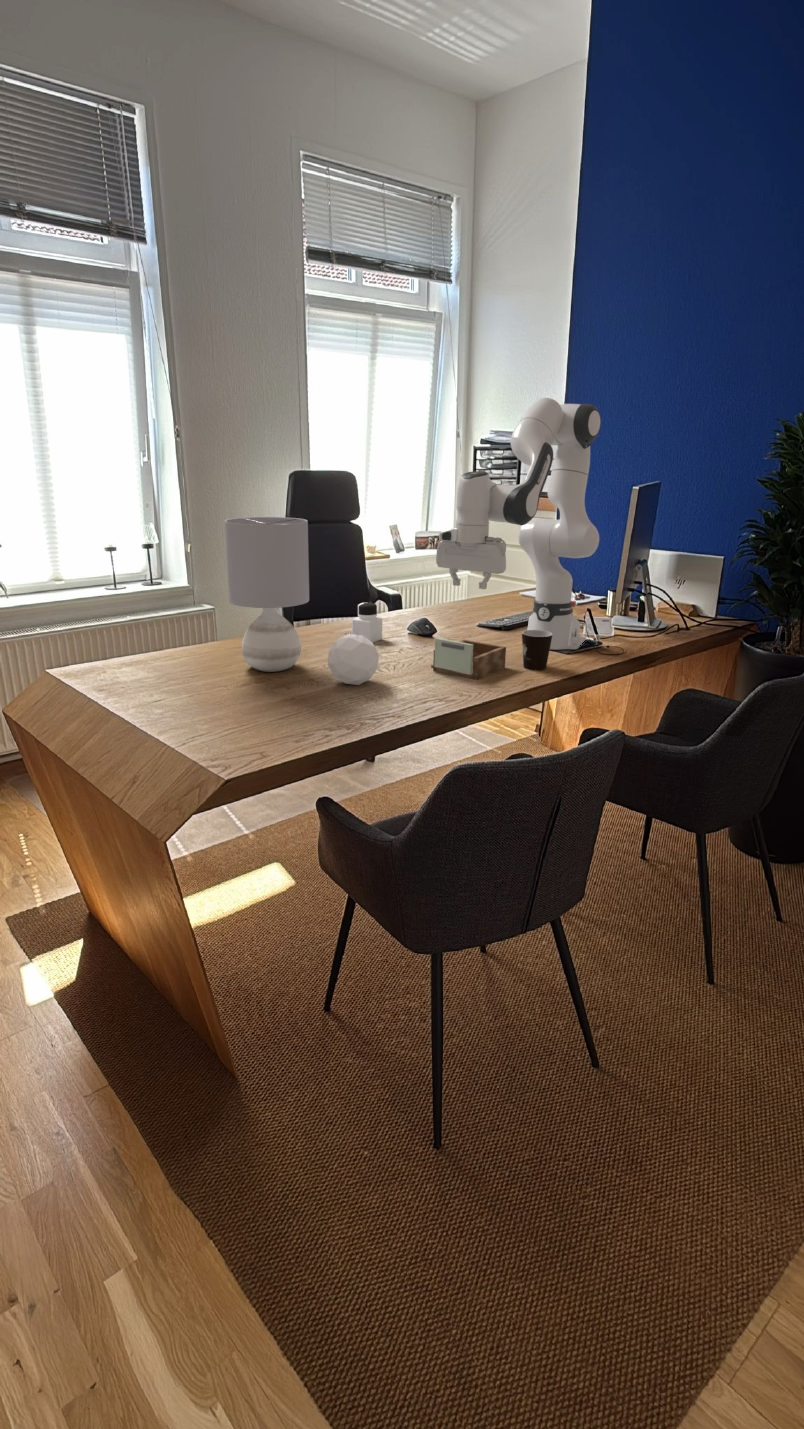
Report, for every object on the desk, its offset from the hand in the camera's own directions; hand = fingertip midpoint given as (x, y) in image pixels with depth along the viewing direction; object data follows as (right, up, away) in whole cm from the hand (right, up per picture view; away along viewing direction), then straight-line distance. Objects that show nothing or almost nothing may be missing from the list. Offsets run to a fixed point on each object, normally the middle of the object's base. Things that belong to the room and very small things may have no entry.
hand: (469, 587), depth 213 cm
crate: (+1, -22, +9) cm, 24 cm away
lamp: (-55, -22, +8) cm, 59 cm away
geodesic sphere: (-31, -26, -5) cm, 41 cm away
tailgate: (-4, -23, +2) cm, 23 cm away
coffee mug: (+20, -21, +14) cm, 32 cm away
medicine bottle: (-29, -11, +41) cm, 51 cm away
